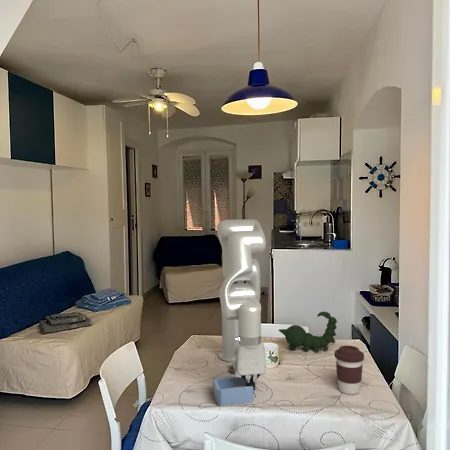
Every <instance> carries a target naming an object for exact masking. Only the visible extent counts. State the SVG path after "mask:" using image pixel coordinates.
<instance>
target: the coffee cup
mask: <svg viewBox="0 0 450 450" xmlns="http://www.w3.org/2000/svg"><path fill="white" fill-rule="evenodd" d="M334 358H335V360H336V361H335V366H336V368H335V370H336V378H337V388H338V391H339V392H341V393H342V394H345V395H352V396H353V395H357V394H359V393H360V391H361V383H362V382H361V381H362V378H363V377H362V376H363V361H364V360H365V354H364V352H363V351H361V350H360V348H359V347H357V346H354V345H341V346H339V348H338V349H335V350H334Z"/></svg>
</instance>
